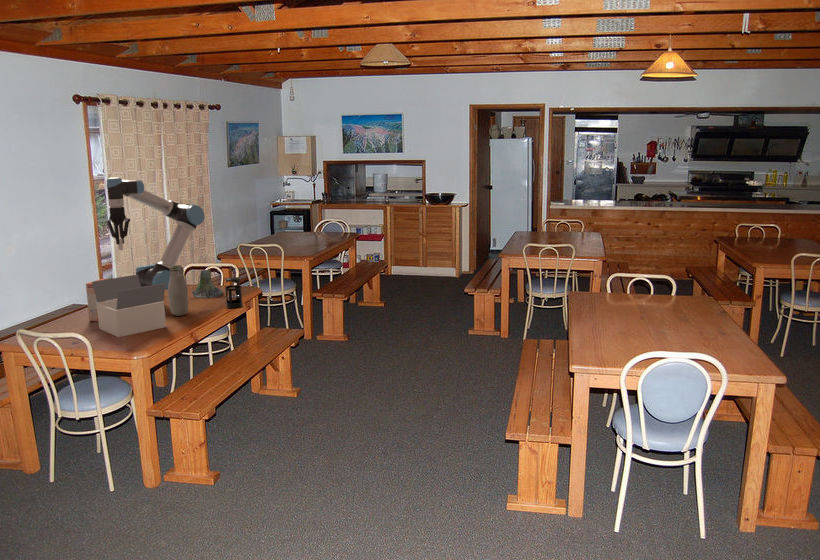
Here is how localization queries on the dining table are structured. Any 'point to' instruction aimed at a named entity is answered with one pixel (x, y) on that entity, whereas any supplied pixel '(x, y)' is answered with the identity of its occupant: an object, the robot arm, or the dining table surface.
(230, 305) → the black lantern
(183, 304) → the grey bottle
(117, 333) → the carton
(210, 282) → the tree stump
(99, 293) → the flap
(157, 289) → the flap
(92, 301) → the cracker box
